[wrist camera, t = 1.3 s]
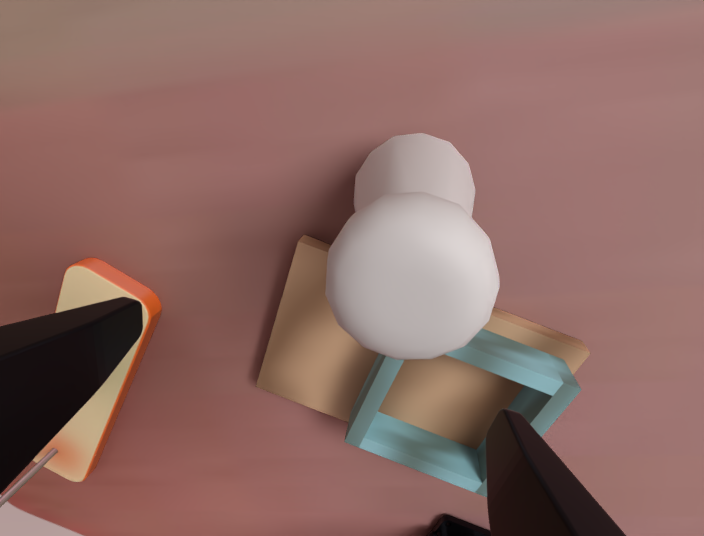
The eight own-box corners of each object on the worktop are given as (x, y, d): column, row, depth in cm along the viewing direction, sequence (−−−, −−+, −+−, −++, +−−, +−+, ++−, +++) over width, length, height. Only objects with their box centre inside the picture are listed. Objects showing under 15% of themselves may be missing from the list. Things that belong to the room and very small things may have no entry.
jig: (581, 341, 22) (611, 383, 19) (486, 462, 27) (496, 512, 24) (304, 234, 22) (283, 257, 19) (262, 375, 27) (240, 413, 24)
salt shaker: (339, 184, 21) (235, 288, 9) (416, 104, 18) (413, 101, 7) (410, 256, 22) (401, 433, 10) (491, 188, 19) (604, 315, 8)
